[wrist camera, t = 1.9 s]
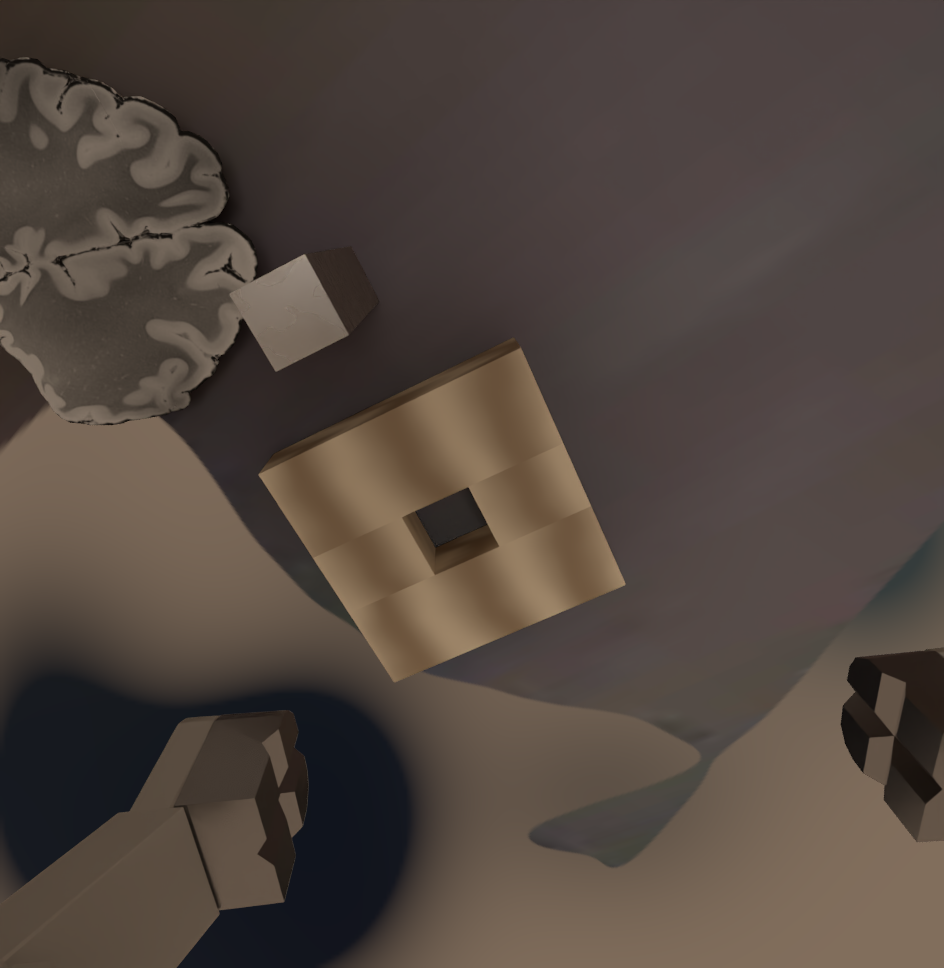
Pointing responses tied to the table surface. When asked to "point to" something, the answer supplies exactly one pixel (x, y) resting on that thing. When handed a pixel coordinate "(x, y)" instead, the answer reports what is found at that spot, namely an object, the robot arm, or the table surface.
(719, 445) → the table surface
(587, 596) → the socket block
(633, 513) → the table surface
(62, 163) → the brain slice
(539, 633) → the table surface
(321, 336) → the square bit
